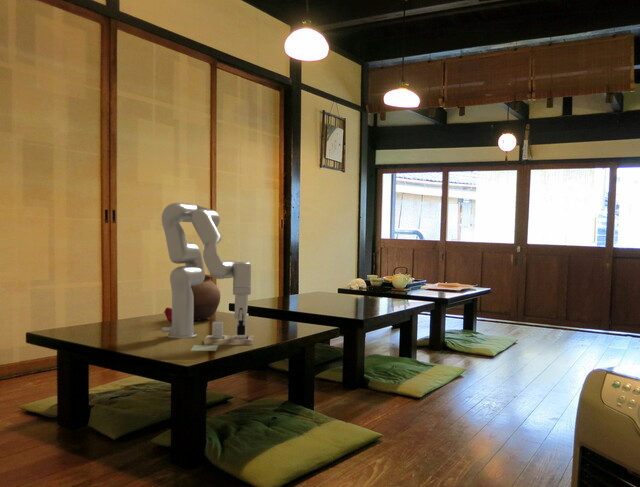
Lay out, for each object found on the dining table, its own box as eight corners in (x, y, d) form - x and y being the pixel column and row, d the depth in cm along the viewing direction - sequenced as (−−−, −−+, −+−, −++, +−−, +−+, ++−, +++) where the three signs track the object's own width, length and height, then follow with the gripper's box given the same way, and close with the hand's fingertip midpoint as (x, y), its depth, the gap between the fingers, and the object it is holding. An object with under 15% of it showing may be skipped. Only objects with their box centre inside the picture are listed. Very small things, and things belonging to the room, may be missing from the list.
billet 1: (212, 344, 228) (212, 323, 228) (213, 342, 232) (213, 321, 232) (221, 344, 229) (222, 323, 228) (222, 342, 233) (222, 321, 232)
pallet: (204, 346, 225) (204, 340, 225) (206, 341, 235) (207, 335, 235) (252, 346, 227) (252, 340, 227) (253, 341, 237) (253, 335, 237)
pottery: (167, 319, 287) (167, 272, 287) (201, 314, 306) (201, 270, 305) (195, 325, 274) (196, 275, 273) (229, 319, 292) (229, 273, 291)
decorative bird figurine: (161, 328, 263) (161, 307, 263) (191, 323, 277) (192, 304, 276) (164, 328, 261) (165, 308, 261) (195, 324, 275) (195, 304, 275)
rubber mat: (190, 352, 214) (190, 350, 214) (193, 346, 224) (193, 345, 224) (216, 352, 214) (216, 350, 214) (218, 346, 224) (218, 345, 224)
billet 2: (236, 339, 229) (236, 318, 229) (236, 337, 233) (237, 316, 233) (245, 339, 229) (246, 318, 229) (246, 337, 233) (246, 316, 233)
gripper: (234, 288, 239) (233, 330, 239) (231, 293, 222) (230, 337, 222) (251, 288, 239) (250, 330, 240) (250, 293, 223) (249, 337, 223)
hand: (241, 333), depth 231 cm, fingers closed on billet 2, 3 cm apart
